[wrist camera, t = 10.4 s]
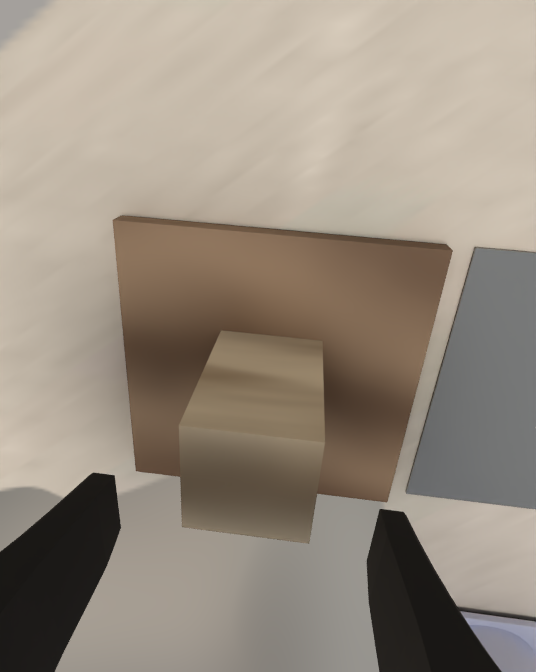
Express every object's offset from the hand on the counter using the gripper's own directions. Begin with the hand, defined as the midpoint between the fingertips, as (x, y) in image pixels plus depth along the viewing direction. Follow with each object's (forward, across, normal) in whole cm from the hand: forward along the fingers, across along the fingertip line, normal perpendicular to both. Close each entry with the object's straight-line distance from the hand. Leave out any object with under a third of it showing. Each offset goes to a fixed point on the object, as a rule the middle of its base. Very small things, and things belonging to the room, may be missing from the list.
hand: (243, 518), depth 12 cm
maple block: (+7, 0, 0) cm, 7 cm away
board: (+8, 0, 0) cm, 8 cm away
